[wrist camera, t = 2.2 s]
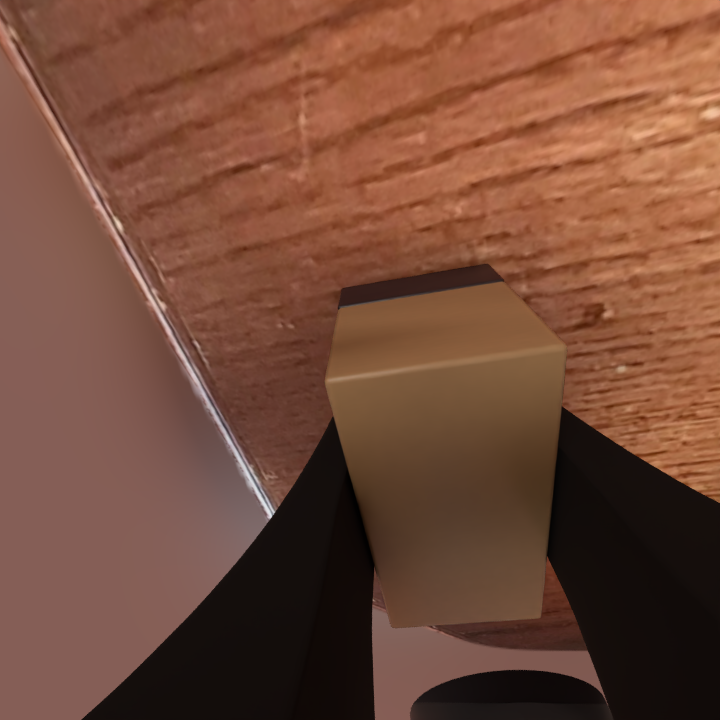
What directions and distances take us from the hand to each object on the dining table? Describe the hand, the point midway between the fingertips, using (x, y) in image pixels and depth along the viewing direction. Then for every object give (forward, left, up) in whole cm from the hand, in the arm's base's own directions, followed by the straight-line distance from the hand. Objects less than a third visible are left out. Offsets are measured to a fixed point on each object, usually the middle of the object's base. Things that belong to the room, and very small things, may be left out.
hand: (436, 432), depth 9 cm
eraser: (0, 0, -1) cm, 1 cm away
